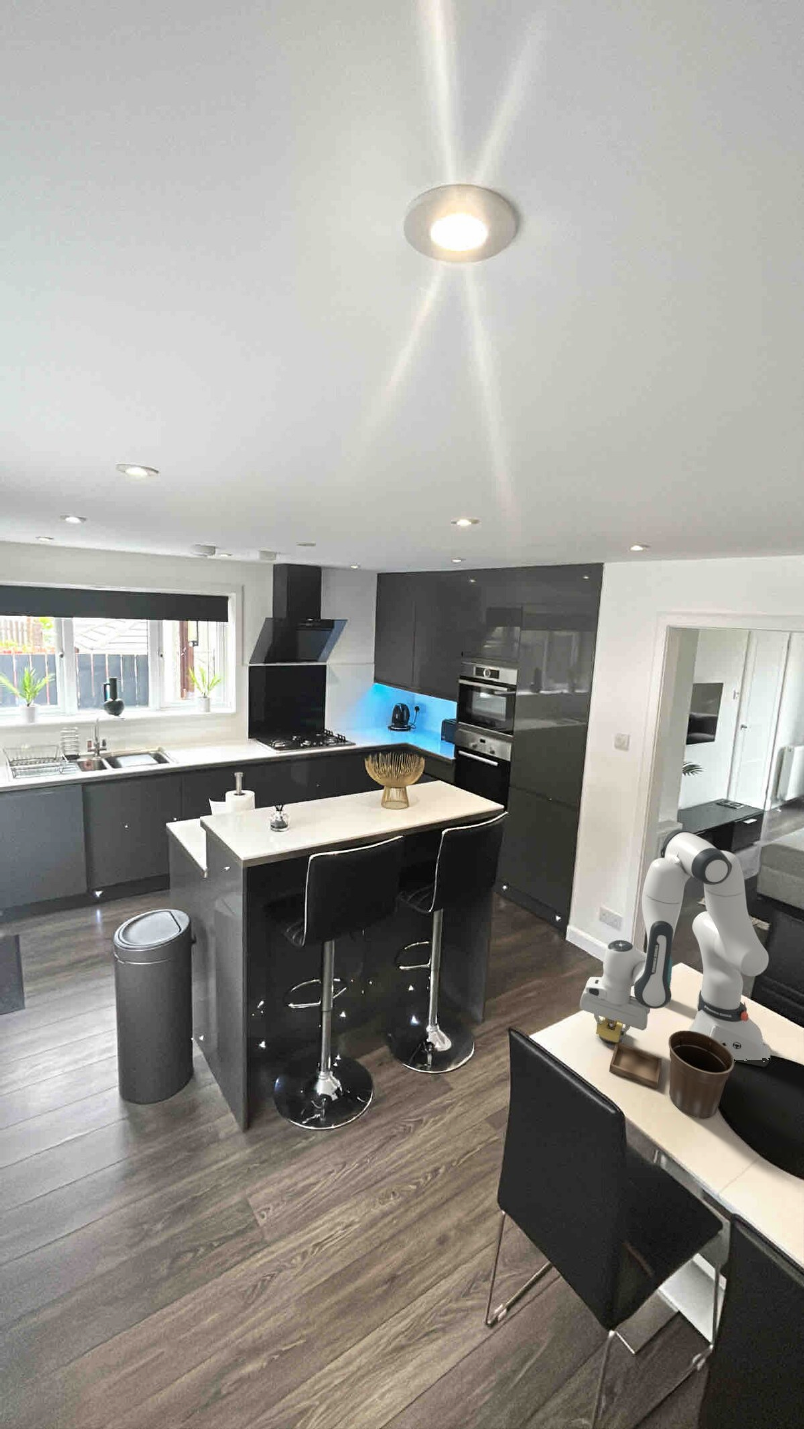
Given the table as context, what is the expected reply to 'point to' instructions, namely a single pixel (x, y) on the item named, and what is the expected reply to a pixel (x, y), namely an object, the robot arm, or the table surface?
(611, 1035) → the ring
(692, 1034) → the plant pot
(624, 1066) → the tray
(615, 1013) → the robot arm
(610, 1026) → the silver knob
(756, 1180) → the table surface
